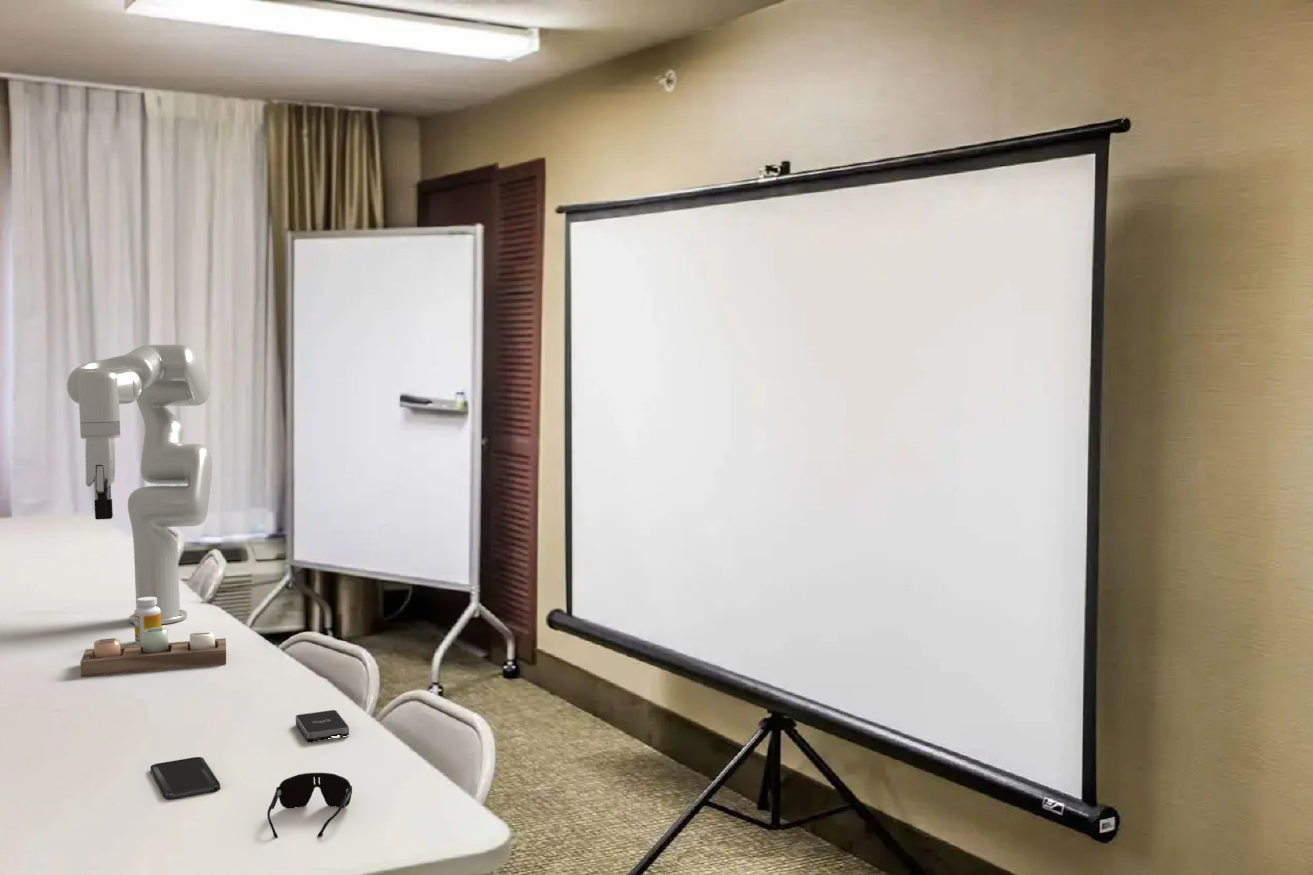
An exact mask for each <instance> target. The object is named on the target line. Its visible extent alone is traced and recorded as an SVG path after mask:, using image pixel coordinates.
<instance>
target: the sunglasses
mask: <svg viewBox="0 0 1313 875" xmlns="http://www.w3.org/2000/svg"><path fill="white" fill-rule="evenodd" d="M315 788H318V789H320V792H321V795H322V797H323V800H324V802H325V803H326V805H327V806H328V807H329V806H330V807H331V808H337V809H336V811H335V813H333V814H332V816H330V817H329V818H328V819H327V820H326V822H325V823H324V824H323V826H322V827H321V829H320V831H318V834H317V836H316V837H317V838H320V837H323V835H324V832H325V830H326V828H327V826H328V825H329V824H330V822H331V821H332V820H333V819H334V818H335V817H337V815H338V814H339V813H340V811H342V809H344V808H346V807H348V806H349V805H350V803H351V799H352V794H353V785H351V783H350V781H349V780H348V779H347V778H345V777H344V776H341V775H338V774H335V773H331V772H330V773H329V772H306V773H299V774H296V775H294V776H290V777H287V778H284V779H283V780H282V781H281V782H280V784H279V786H277V787H276V788H275V793H274V794H273V798H272V800H271V802H270V804H269V807H268V809H267V820H268V824H269V827H270V829H271V831H272V834H273V837H274V838H275V839H277V838H278V834H277V832H276V830H275V827H274V823H273V822H272V819H271V816H270V815H271V812H272V810H274V809H275V807H276V804H277V802H278V799H279V802H280V805H281V806H282V807H283V808H285V809H289V810H290V808H291V809H296V808H295V807H298V808H305V807H306V806H307V805H308V804H309V802H310V800H311V798H312V795H313V793H314V790H315ZM304 806H305V807H304ZM333 806H334V807H333ZM335 806H336V807H335Z"/></svg>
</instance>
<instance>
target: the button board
mask: <svg viewBox="0 0 1313 875" xmlns="http://www.w3.org/2000/svg"><path fill="white" fill-rule="evenodd" d="M120 651H121V656H115V657H102V658H95V654H94V648H90V649H89V648H87V649H85V650H84V653H83V655H82V657H81V660H80V663H79V664H80V677H93V676H104V674H106V675H115V674H116V675H117V674H127V673H128V674H129V673H140V672H150V671H153V672H154V671H162V670H163V671H164V670H173V669H183V668H184V669H185V668H197V667H198V668H199V667H205V666H206V667H210V666H219V665H226V664H227V639H226V637H224V638H215V648H211V649H199V650H190V640H187V641H174V642H168V649H167V650H165V651H162V652H154V653H148V652H143V645H139V644H137V645H128V646H127V645H125V646H120Z"/></svg>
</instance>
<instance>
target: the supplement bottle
mask: <svg viewBox="0 0 1313 875" xmlns="http://www.w3.org/2000/svg"><path fill="white" fill-rule="evenodd" d="M156 604H157V598H156V597H142V598H138V599H137V606H139V608H137V609H136V608H135V610H134V613H133V614H134V622H135V624H134V640H135V644H137V645H143V638H142V631H143V630H145V629H149V628H162V624H161V610H160V608H159V607H156Z"/></svg>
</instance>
